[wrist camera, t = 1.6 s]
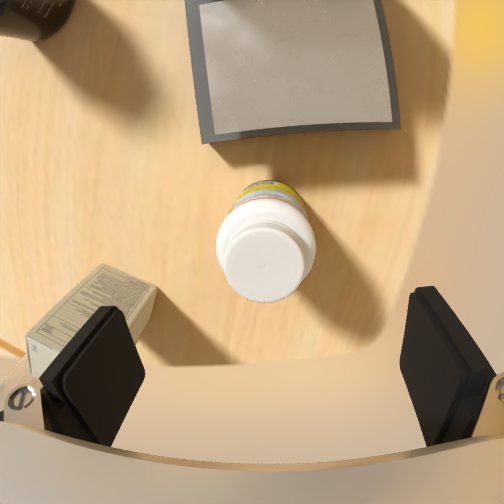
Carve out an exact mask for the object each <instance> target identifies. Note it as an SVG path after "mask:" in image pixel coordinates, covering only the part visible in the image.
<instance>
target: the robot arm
mask: <svg viewBox="0 0 504 504" xmlns="http://www.w3.org/2000/svg"><path fill="white" fill-rule="evenodd" d="M400 370H401V372H402V375H403V378H404V381H405V383H406V386H407V389H408V392H409V395H410V397H411V400H412V403H413V406H414V409H415V412H416V415H417V418H418V421H419V424H420V427H421V430H422V433H423V436H424V440H425V443H426V446H427V447H425V448H420V449H415V450H410V451H404V452H399V453H393V454H387V455H380V456H374V457H367V458H359V459H350V460H341V461H330V462H316V463H297V464H240V463H220V462H207V461H195V460H187V459H178V458H170V457H163V456H156V455H150V454H144V453H138V452H133V451H127V450H122V449H117V448H113V447H111V445H112V443H113V441H114V439H115V437H116V435H117V433H118V431H119V429H120V427H121V425H122V423H123V421H124V419H125V416H126V414H127V412H128V410H129V408H130V406H131V404H132V402H133V400H134V398H135V396H136V394H137V392H138V390H139V388H140V386H141V384H142V382H143V380H144V378H145V370H144V367H143V364H142V362H141V359H140V357H139V354H138V352H137V349H136V346H135V344H134V341H133V339H132V336H131V333H130V330H129V328H128V325H127V322H126V319H125V316H124V313H123V312H122V311H121V310H119V308H118V307H117V306H100V307H99V308H98V309H97V310H96V311H95V312H94V314H93V315H92V316H91V317H90V318H89V319H88V320H87V321H86V323H85V324H84V325H83V326H82V327H81V328H80V329H79V331H78V332H77V333H76V334H75V335H74V336H73V338H72V339H71V340H70V341H69V342H68V343H67V345H66V346H65V347H64V348H63V349H62V350H61V352H60V353H59V354H58V355H57V356H56V358H55V359H54V360H53V361H52V363H51V364H50V365H49V366H48V367H47V369H46V370H45V371H44V372H43V374H42V375H41V376H40V377H39V379H37V378H36V377H34V376H33V375H31V373H30V367H29V361H28V353H26V354H25V355H24V357H23V358H22V359H21V360H20V361H19V362H18V363H17V365H15V367H14V368H13V369H12V370H11V371H10V372H9V373H8V374H7V376H6V377H5V378H4V379H3V380H2V381H1V382H0V504H504V372H503V373H501V374H498V375H496V373H495V372H494V370H493V369H492V367H491V365H490V364H489V362H488V361H487V359H486V358H485V356H484V354H483V353H482V351H481V350H480V348H479V347H478V346H477V344H476V343H475V341H474V340H473V338H472V337H471V335H470V334H469V332H468V331H467V330H466V328H465V327H464V325H463V324H462V323H461V322H460V320H459V319H458V318H457V316H456V314H455V313H454V312H453V310H452V309H451V308H450V306H449V305H448V304H447V302H446V301H445V300H444V298H443V297H442V296H441V294H440V293H439V292H438V291H437V289H436V288H435V287H434V286H427V287H418V288H416V289H415V292H414V293H411V294H410V297H409V304H408V311H407V319H406V325H405V332H404V339H403V344H402V350H401V356H400Z"/></svg>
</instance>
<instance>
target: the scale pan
mask: <svg viewBox="0 0 504 504" xmlns="http://www.w3.org/2000/svg"><path fill="white" fill-rule="evenodd" d="M199 9H200V17H201V26H202V35H203V43H204V52H205V60H206V68H207V76H208V84H209V92H210V100H211V107H212V115H213V123H214V130H215V135H218V134H225V133H232V132H240V131H248V130H257V129H266V128H276V127H287V126H299V125H313V124H330V123H355V122H392V113H391V104H390V95H389V86H388V79H387V71H386V65H385V58H384V52H383V46H382V41H381V35H380V30H379V25H378V20H377V15H376V11H375V6H374V2H373V0H224V1H218V2H213V3H208V4H203V5H199Z"/></svg>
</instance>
